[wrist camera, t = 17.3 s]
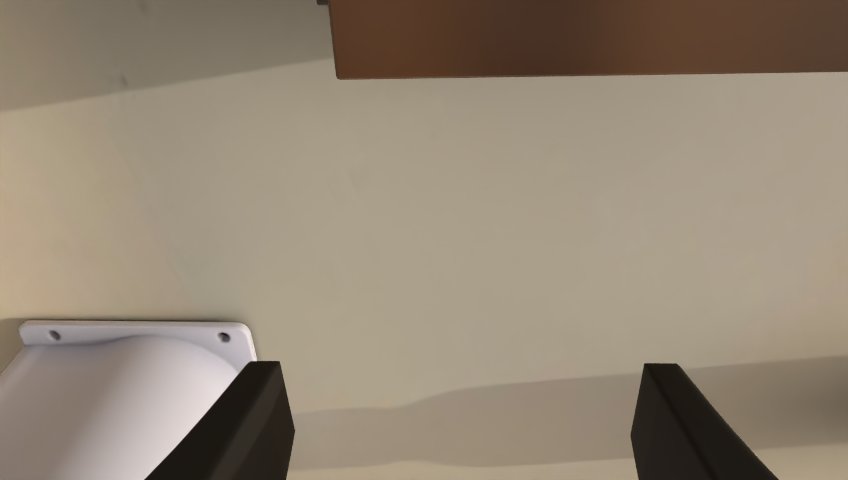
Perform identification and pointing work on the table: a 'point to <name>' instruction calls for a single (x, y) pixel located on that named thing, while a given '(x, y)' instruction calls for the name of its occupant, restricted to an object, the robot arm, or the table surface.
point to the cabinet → (585, 37)
